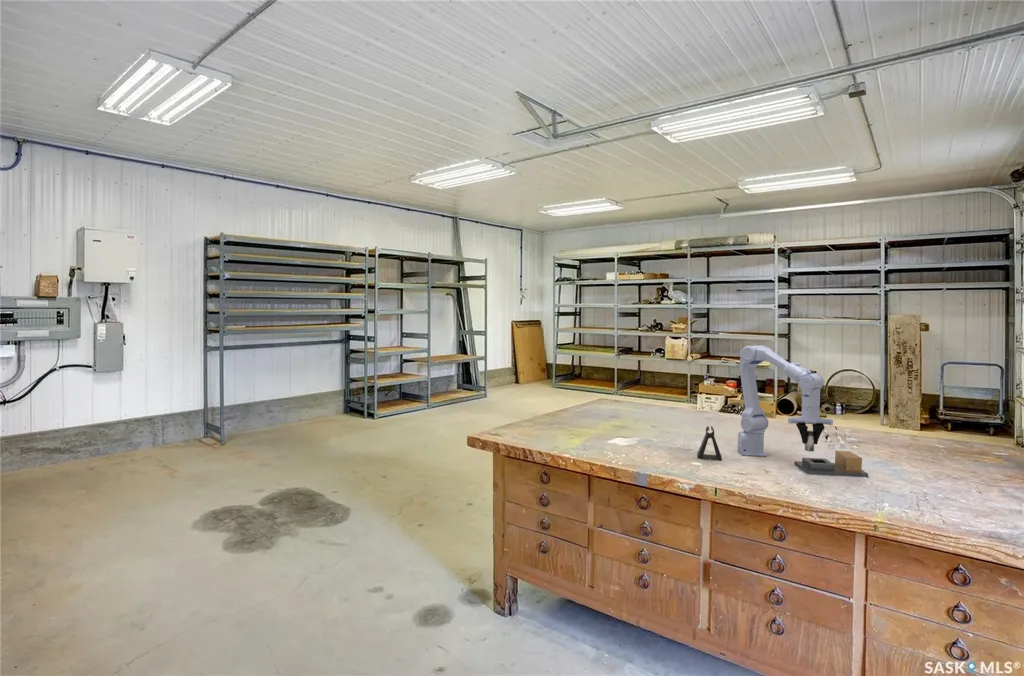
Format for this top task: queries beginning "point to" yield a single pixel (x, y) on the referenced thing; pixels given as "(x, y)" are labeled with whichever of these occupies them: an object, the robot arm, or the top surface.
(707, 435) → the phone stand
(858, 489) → the top surface
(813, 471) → the square socket plate
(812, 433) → the shiny metal cylinder
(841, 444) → the miniature set
